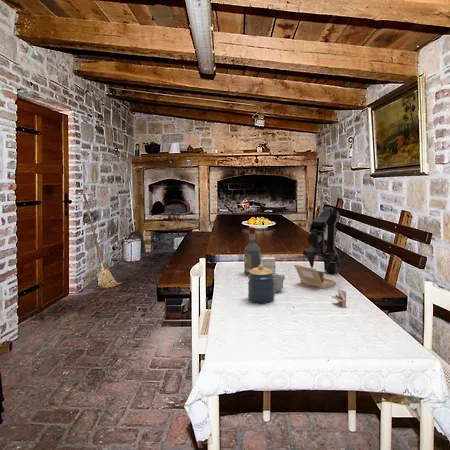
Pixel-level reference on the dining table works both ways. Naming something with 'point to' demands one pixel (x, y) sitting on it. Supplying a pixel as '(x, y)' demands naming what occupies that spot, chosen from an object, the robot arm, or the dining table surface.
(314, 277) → the mailer lid
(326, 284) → the box
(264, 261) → the ink box
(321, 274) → the walnut block
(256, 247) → the liquor
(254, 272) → the canister
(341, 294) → the architectural model
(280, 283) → the teacup
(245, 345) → the dining table surface
